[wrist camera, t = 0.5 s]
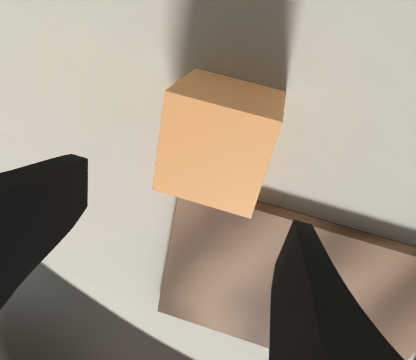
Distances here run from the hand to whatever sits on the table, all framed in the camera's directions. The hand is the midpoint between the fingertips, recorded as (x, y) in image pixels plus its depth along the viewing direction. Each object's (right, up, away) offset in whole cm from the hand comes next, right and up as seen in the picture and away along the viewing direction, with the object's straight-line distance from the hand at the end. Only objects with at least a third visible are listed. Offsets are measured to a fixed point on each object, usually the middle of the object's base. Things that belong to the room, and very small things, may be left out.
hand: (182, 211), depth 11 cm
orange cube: (+2, +4, +8) cm, 9 cm away
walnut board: (+7, -6, +13) cm, 16 cm away
